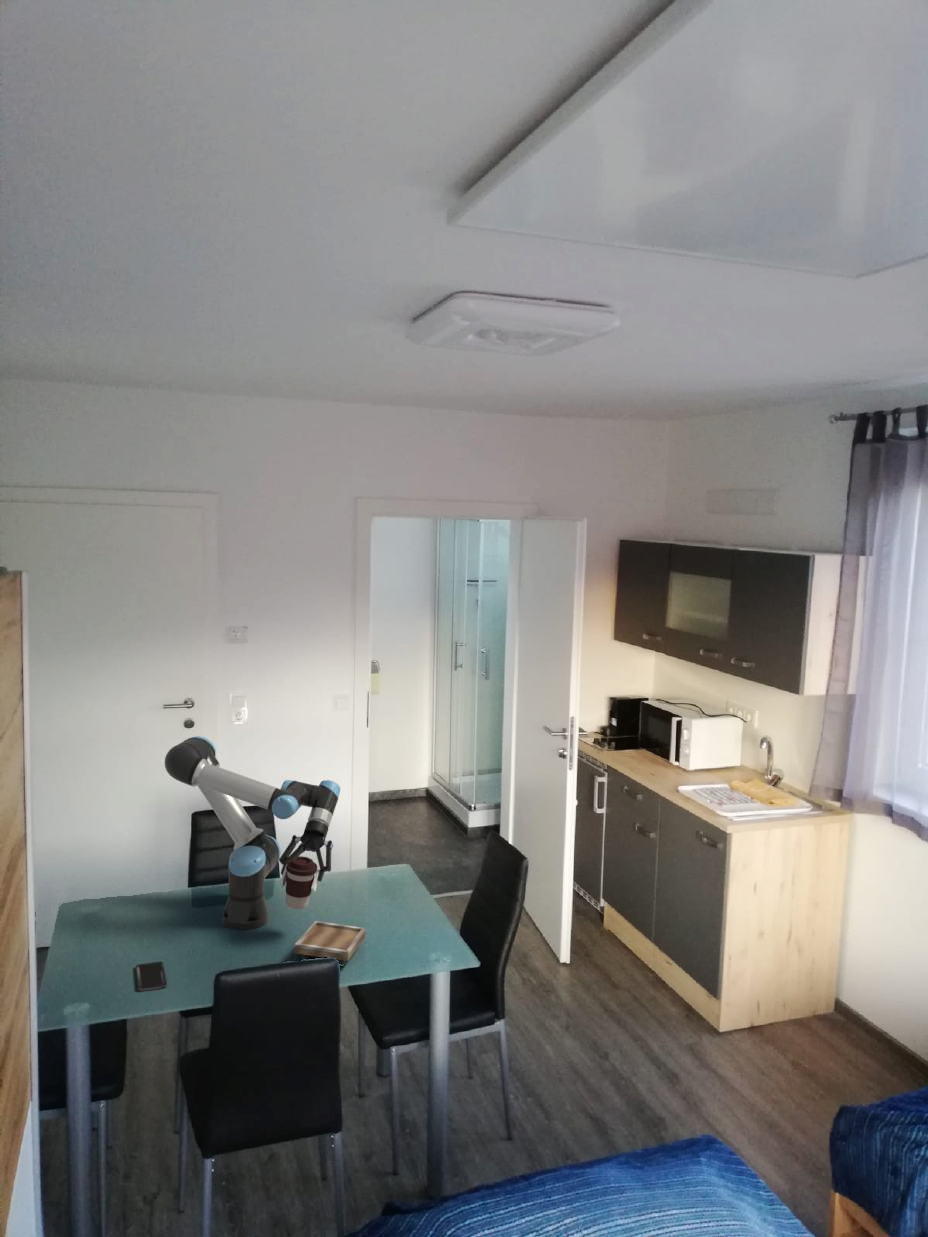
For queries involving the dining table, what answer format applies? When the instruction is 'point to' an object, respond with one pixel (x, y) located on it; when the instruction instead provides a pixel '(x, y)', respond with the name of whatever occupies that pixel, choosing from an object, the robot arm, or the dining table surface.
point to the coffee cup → (299, 881)
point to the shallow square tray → (330, 941)
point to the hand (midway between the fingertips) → (297, 887)
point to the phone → (150, 976)
